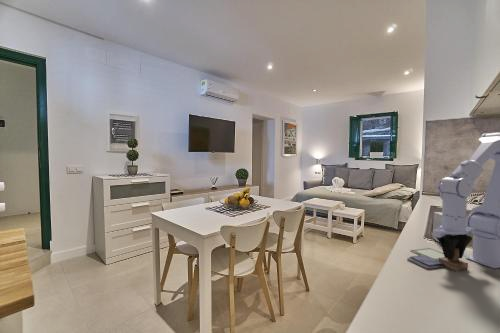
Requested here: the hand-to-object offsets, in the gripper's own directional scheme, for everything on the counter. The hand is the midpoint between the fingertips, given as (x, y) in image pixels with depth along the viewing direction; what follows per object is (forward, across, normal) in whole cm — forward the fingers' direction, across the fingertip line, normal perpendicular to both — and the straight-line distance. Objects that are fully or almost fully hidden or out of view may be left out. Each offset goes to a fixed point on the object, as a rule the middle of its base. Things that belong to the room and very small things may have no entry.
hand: (453, 257), depth 73 cm
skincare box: (+3, -20, -18) cm, 27 cm away
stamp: (+3, 0, 0) cm, 3 cm away
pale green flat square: (+3, -3, -9) cm, 10 cm away
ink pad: (+3, +6, -4) cm, 8 cm away
